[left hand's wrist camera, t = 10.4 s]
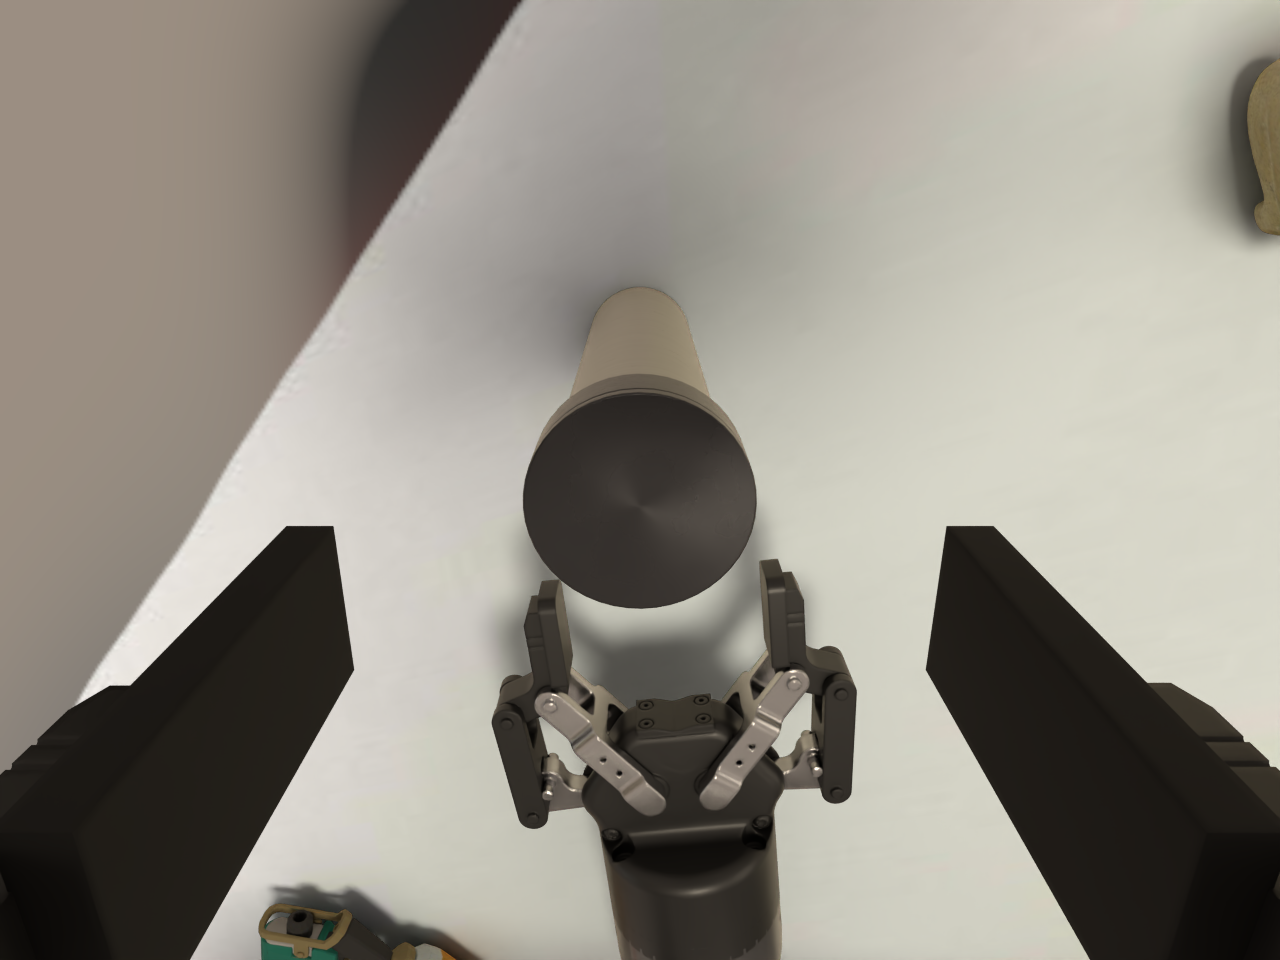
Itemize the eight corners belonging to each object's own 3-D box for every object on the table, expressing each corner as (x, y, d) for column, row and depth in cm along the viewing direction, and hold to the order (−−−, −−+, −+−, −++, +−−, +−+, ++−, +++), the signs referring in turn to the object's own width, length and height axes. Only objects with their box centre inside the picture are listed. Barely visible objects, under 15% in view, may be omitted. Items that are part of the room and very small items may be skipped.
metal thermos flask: (682, 390, 35) (720, 593, 19) (585, 379, 35) (537, 574, 19) (695, 293, 34) (750, 417, 17) (595, 281, 34) (550, 395, 17)
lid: (729, 584, 20) (737, 619, 18) (525, 563, 20) (515, 597, 18) (763, 386, 18) (775, 406, 17) (540, 361, 18) (530, 379, 16)
